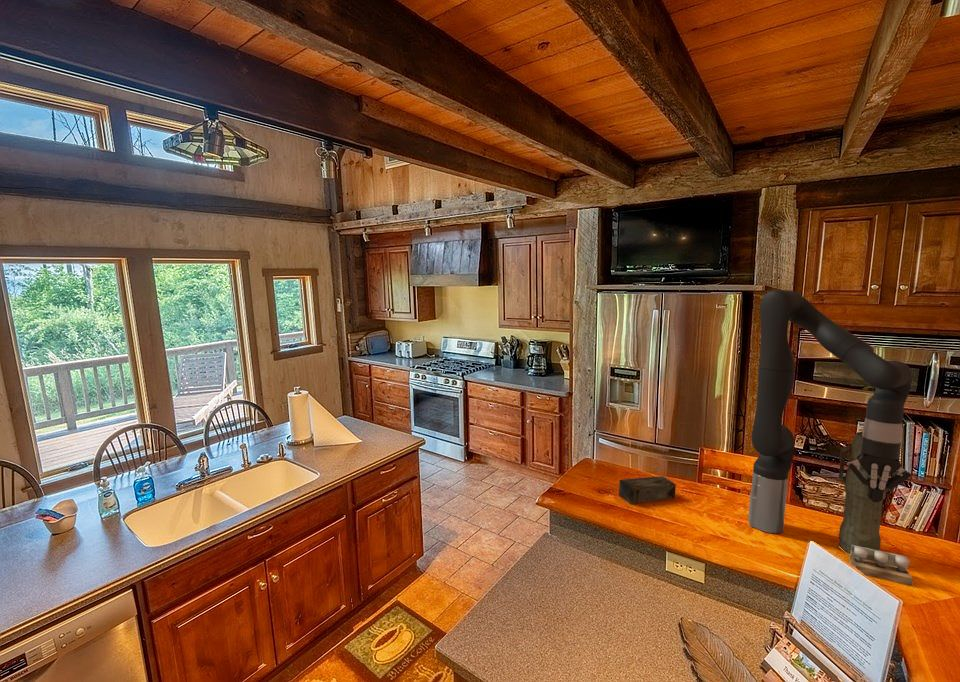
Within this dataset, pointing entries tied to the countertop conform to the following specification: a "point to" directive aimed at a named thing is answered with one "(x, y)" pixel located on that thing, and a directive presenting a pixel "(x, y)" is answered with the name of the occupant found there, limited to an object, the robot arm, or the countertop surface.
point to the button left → (860, 553)
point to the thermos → (859, 506)
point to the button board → (883, 573)
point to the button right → (901, 563)
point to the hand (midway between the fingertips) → (874, 501)
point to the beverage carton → (646, 489)
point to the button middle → (880, 558)
